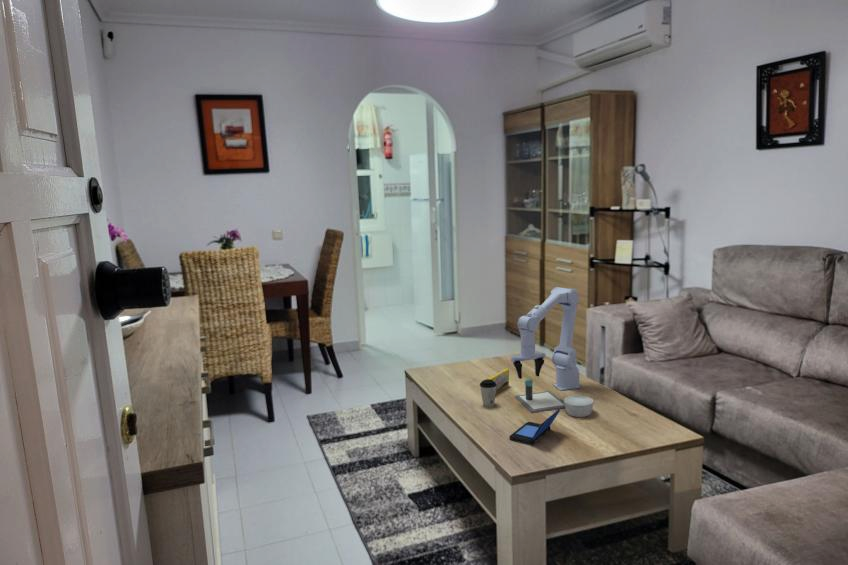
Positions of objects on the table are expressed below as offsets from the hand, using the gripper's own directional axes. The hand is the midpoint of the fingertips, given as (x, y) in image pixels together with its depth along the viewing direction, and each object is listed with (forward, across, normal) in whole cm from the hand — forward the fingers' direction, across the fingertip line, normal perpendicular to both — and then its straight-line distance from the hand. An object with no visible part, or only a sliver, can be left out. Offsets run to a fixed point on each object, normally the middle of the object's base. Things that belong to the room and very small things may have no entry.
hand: (528, 376), depth 237 cm
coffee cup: (+11, -17, +2) cm, 20 cm away
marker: (+10, 0, 0) cm, 10 cm away
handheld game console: (+11, -11, -32) cm, 35 cm away
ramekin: (+11, +13, -18) cm, 25 cm away
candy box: (+11, -8, +15) cm, 20 cm away
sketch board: (+10, +4, -3) cm, 12 cm away
